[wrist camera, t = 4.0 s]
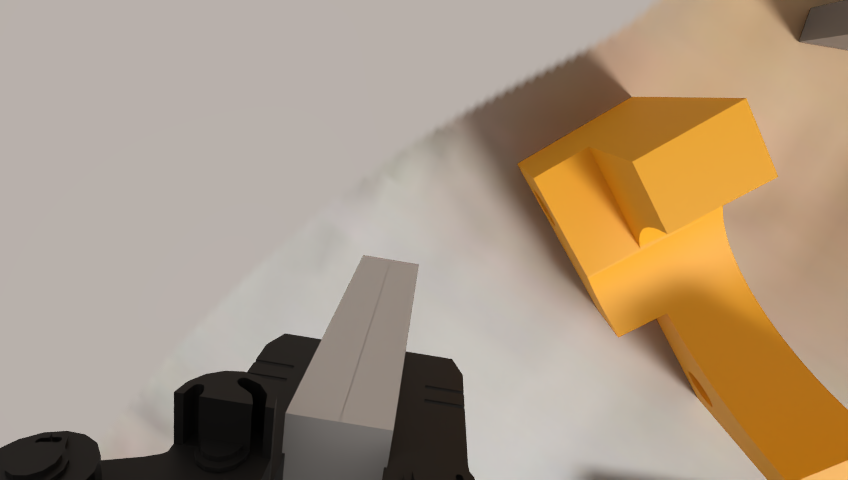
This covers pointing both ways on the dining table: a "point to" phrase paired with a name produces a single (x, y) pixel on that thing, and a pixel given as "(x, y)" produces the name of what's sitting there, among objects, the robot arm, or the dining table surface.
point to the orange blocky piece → (689, 266)
